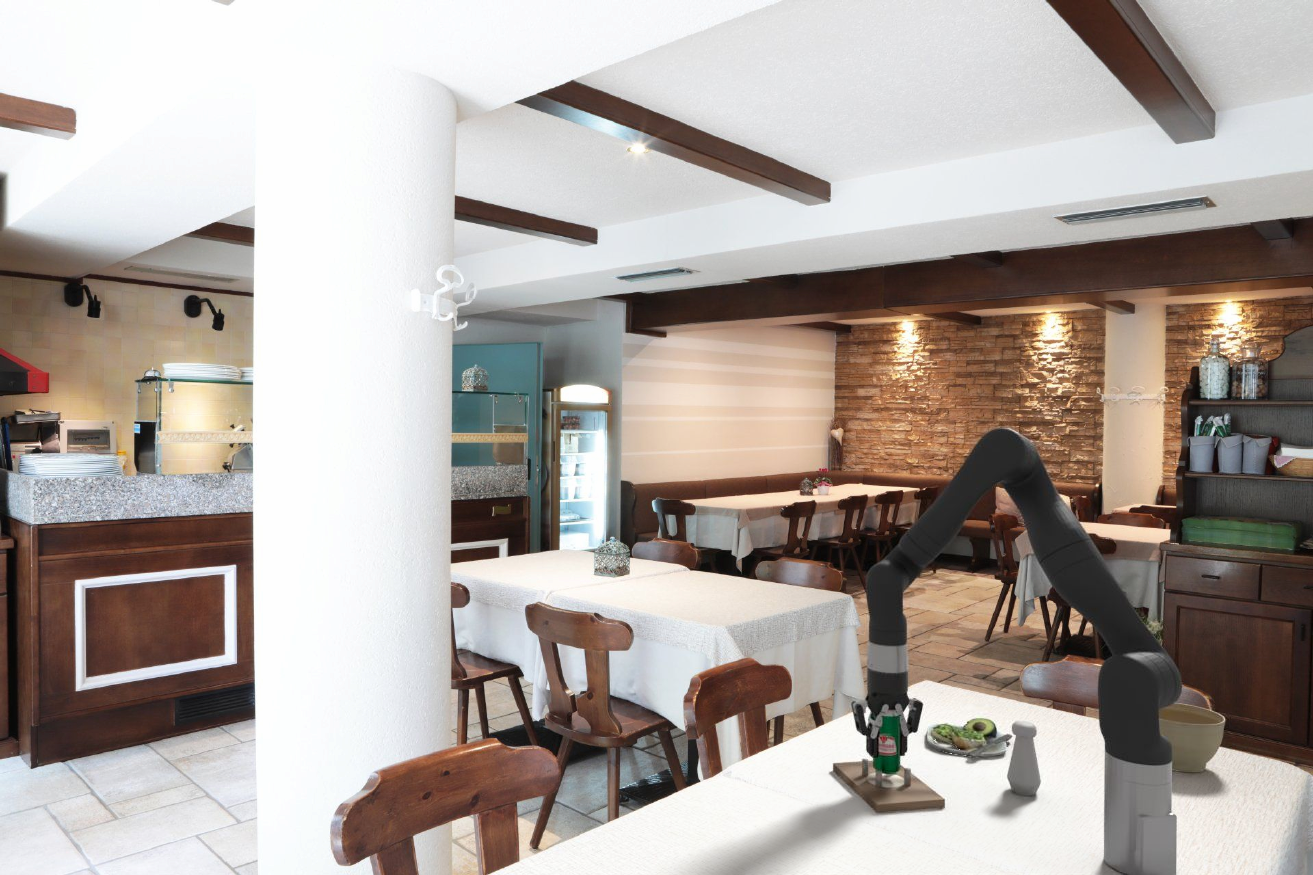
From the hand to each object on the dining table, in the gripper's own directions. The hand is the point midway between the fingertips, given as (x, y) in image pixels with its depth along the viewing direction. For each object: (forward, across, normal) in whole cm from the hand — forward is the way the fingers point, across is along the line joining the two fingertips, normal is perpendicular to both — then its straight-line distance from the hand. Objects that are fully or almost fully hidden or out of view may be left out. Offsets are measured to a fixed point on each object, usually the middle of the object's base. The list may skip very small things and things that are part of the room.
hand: (886, 754), depth 165 cm
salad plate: (+7, +29, +20) cm, 36 cm away
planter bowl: (+6, +65, +1) cm, 65 cm away
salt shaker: (+6, +25, -6) cm, 26 cm away
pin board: (+6, 0, 0) cm, 6 cm away
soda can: (+3, 0, 0) cm, 3 cm away
